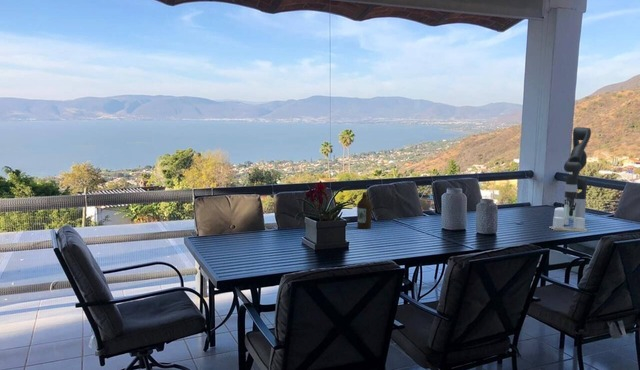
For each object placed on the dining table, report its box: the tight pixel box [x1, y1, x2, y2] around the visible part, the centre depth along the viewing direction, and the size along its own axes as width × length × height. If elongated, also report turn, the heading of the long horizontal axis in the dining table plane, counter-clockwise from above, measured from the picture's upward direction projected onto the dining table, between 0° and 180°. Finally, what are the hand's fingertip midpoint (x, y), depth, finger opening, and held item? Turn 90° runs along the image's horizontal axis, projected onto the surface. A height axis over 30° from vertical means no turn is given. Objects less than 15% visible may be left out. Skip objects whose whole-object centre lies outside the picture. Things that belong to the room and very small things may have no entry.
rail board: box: [549, 226, 589, 232], centre depth 345 cm, size 10×22×1 cm, turn 86°
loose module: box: [563, 203, 576, 219], centre depth 343 cm, size 4×6×9 cm, turn 86°
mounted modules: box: [552, 216, 586, 229], centre depth 344 cm, size 6×19×7 cm, turn 86°
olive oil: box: [356, 191, 373, 230], centre depth 345 cm, size 11×11×25 cm
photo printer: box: [553, 206, 570, 226], centre depth 364 cm, size 10×4×12 cm, turn 39°
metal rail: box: [550, 226, 587, 229], centre depth 345 cm, size 4×22×1 cm, turn 86°
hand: (569, 215), depth 343 cm, fingers closed on loose module, 4 cm apart
